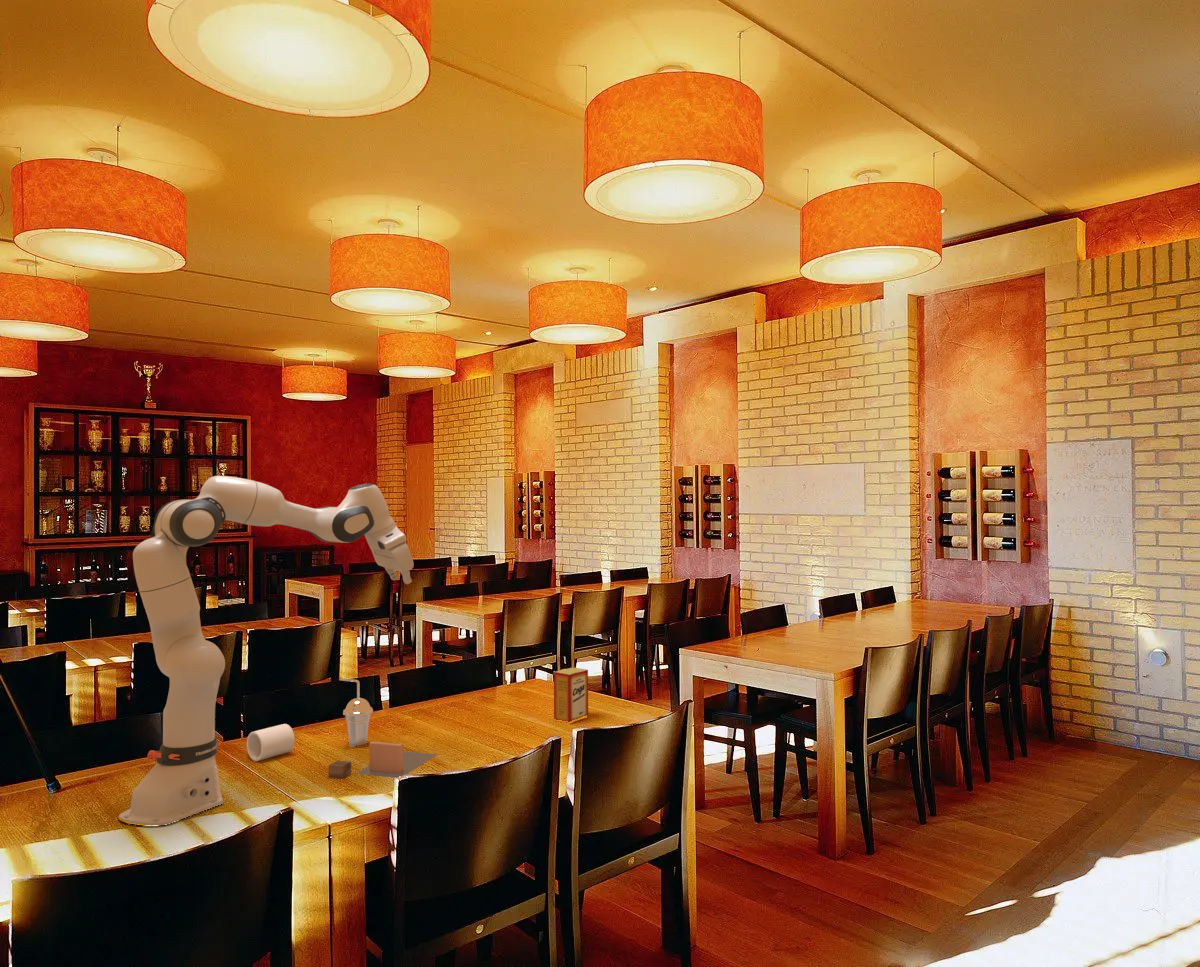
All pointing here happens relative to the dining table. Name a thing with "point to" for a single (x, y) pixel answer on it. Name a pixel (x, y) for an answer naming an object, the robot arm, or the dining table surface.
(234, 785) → the dining table surface
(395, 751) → the tile
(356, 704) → the cup with straw
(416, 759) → the slate board
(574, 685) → the baking soda box
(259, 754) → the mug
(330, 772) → the walnut cube
